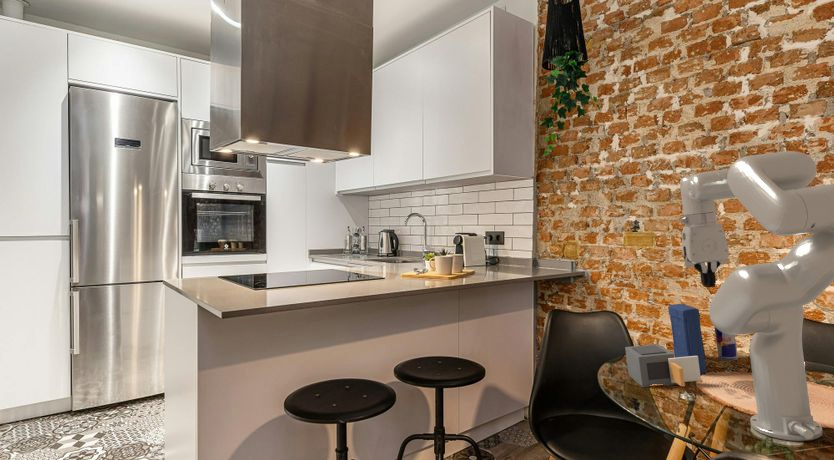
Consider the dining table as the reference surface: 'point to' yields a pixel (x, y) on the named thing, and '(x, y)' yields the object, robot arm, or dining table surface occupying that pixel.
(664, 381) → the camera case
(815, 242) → the robot arm
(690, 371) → the white square panel
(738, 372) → the dining table surface
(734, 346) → the energy drink
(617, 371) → the dining table surface
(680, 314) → the electronic device
